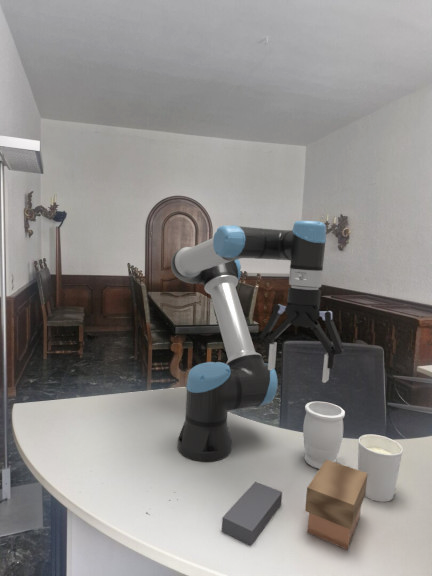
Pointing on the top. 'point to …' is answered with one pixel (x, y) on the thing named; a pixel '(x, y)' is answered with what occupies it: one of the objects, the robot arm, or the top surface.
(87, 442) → the top surface
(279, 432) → the top surface
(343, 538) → the dish
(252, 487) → the block
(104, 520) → the top surface
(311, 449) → the jar
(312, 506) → the brown wooden block
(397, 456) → the candle holder
